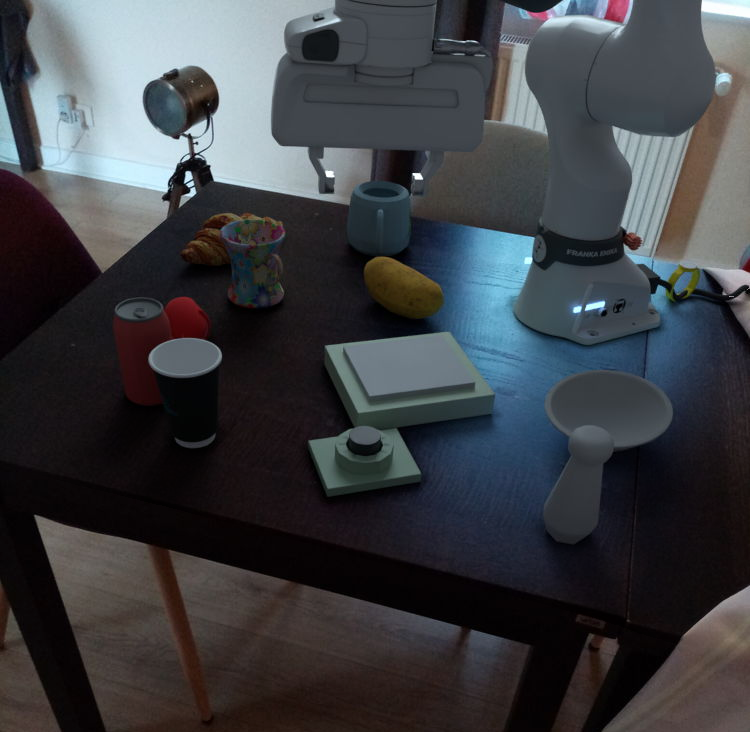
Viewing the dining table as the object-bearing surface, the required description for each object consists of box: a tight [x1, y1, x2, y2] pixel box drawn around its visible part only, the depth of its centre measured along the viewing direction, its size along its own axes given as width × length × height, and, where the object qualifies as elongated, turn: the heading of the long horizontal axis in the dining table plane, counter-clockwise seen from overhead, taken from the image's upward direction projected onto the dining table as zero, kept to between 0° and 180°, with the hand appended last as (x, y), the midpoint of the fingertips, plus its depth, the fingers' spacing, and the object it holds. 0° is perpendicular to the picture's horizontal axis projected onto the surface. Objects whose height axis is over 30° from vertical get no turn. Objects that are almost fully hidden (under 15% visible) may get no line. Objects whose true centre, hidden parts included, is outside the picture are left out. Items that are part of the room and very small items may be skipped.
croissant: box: [180, 212, 284, 267], centre depth 130 cm, size 21×10×8 cm, turn 139°
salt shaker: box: [542, 425, 614, 545], centre depth 80 cm, size 6×6×13 cm
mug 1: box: [220, 219, 286, 310], centre depth 115 cm, size 12×9×11 cm
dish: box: [544, 369, 674, 452], centre depth 95 cm, size 18×14×5 cm
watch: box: [664, 260, 701, 303], centre depth 125 cm, size 6×3×6 cm, turn 120°
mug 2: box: [346, 180, 412, 257], centre depth 131 cm, size 15×11×10 cm
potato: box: [363, 256, 444, 320], centre depth 117 cm, size 7×14×7 cm, turn 39°
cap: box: [163, 296, 211, 341], centre depth 107 cm, size 8×6×6 cm
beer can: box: [112, 297, 172, 407], centre depth 95 cm, size 7×7×12 cm
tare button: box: [349, 426, 381, 456], centre depth 89 cm, size 4×4×2 cm
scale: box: [324, 331, 496, 430], centre depth 102 cm, size 18×16×4 cm
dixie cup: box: [148, 338, 223, 449], centre depth 90 cm, size 8×8×11 cm
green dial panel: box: [307, 427, 422, 498], centre depth 90 cm, size 11×9×3 cm
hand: (372, 193), depth 78 cm, fingers open, 8 cm apart
